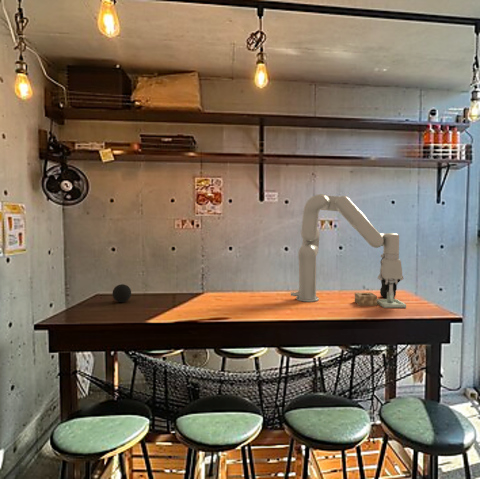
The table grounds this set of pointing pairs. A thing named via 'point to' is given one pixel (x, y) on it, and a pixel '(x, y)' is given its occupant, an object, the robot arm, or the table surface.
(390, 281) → the pin
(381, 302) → the tray
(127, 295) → the speaker
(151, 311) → the table surface
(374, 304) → the square wooden holder
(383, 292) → the cola bottle
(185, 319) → the table surface
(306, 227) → the robot arm
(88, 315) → the table surface
